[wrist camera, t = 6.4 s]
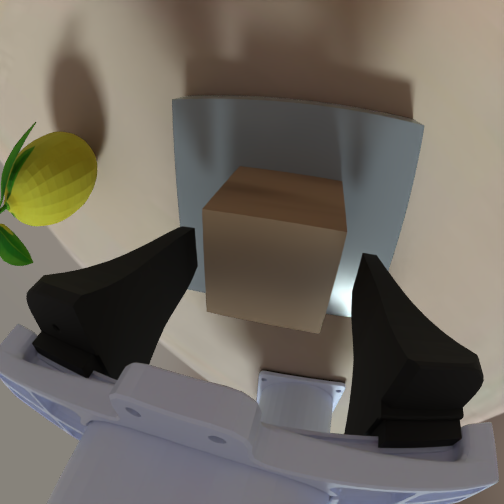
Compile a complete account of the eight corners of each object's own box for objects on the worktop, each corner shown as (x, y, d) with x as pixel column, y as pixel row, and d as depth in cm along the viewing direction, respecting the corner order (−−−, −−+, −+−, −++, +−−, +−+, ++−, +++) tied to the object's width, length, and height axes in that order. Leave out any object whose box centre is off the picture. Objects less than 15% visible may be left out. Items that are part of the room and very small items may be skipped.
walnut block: (324, 266, 17) (319, 333, 13) (236, 251, 17) (206, 311, 13) (342, 181, 14) (347, 232, 10) (239, 166, 15) (201, 209, 11)
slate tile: (368, 299, 20) (370, 319, 18) (198, 271, 22) (187, 289, 20) (413, 119, 13) (424, 125, 11) (188, 95, 15) (172, 99, 13)
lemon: (91, 213, 21) (1, 293, 13) (51, 157, 19) (-49, 218, 11) (140, 164, 18) (24, 248, 10) (92, 99, 16) (-37, 147, 8)
